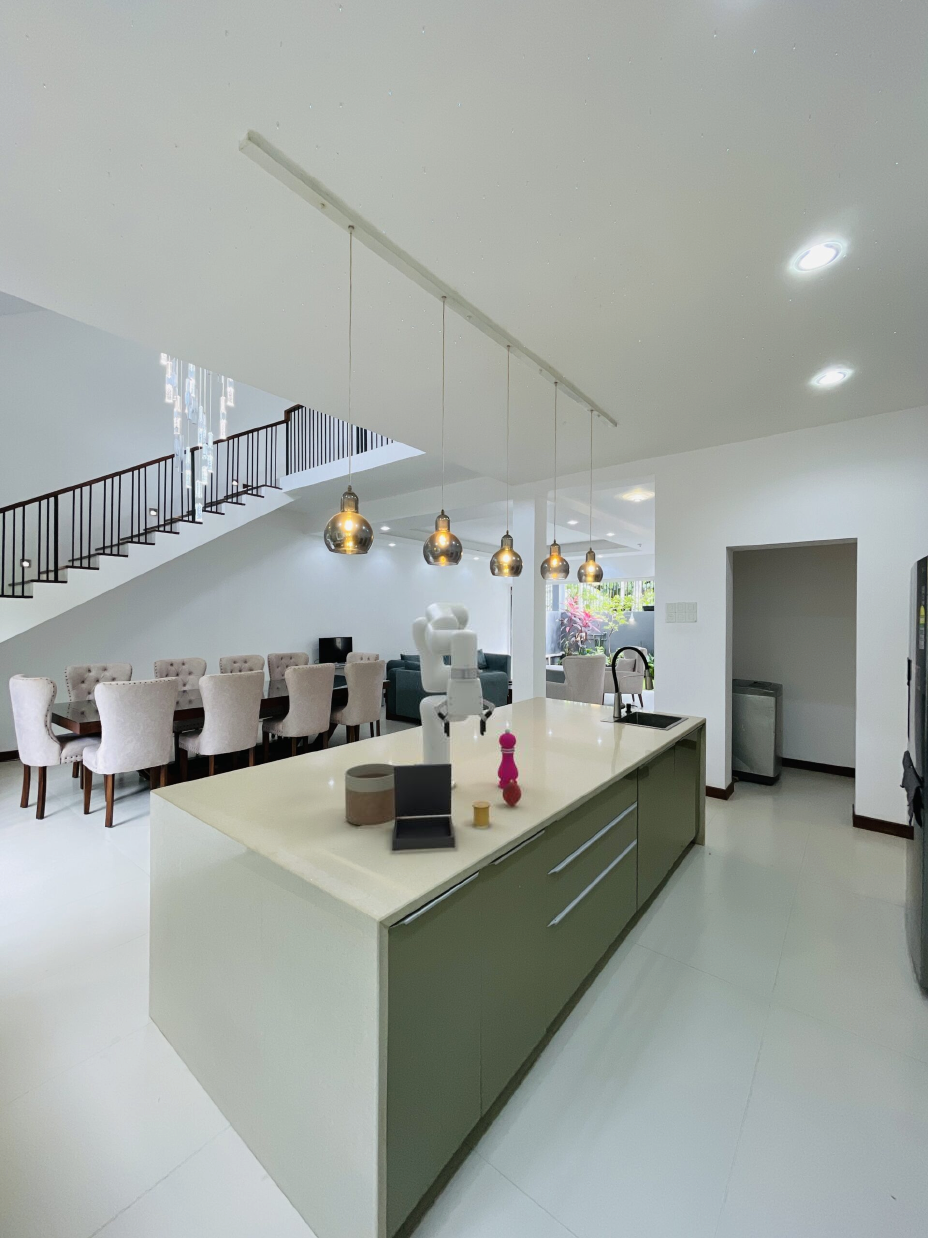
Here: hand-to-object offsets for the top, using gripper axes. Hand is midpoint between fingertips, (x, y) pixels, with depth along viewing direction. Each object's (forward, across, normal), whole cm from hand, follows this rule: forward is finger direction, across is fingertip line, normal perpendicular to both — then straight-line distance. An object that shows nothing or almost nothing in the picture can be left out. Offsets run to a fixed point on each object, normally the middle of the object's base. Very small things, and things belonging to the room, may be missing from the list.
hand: (465, 735), depth 145 cm
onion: (+26, -16, -14) cm, 33 cm away
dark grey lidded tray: (+26, +12, +7) cm, 29 cm away
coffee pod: (+26, -4, 0) cm, 26 cm away
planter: (+26, +27, -11) cm, 39 cm away
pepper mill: (+26, -18, -33) cm, 46 cm away
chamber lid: (+14, +12, +2) cm, 19 cm away
